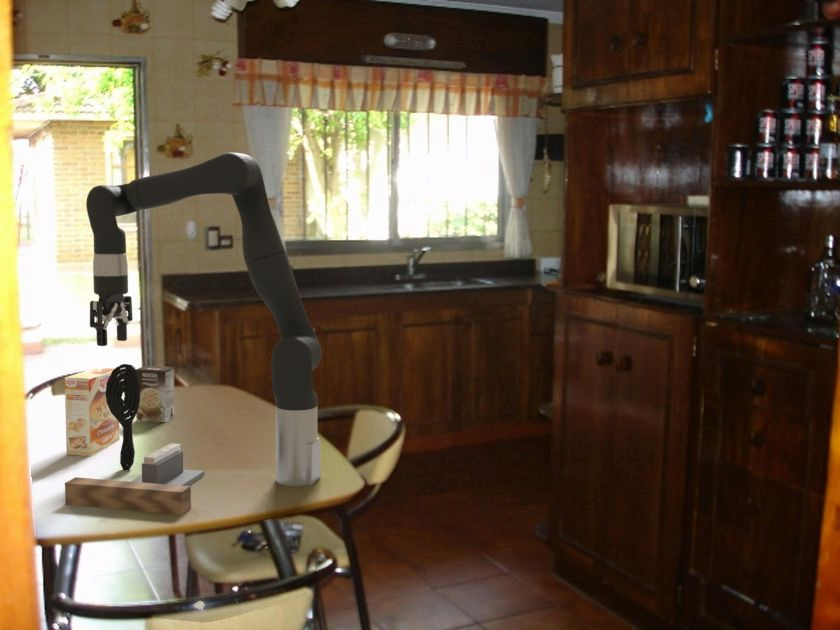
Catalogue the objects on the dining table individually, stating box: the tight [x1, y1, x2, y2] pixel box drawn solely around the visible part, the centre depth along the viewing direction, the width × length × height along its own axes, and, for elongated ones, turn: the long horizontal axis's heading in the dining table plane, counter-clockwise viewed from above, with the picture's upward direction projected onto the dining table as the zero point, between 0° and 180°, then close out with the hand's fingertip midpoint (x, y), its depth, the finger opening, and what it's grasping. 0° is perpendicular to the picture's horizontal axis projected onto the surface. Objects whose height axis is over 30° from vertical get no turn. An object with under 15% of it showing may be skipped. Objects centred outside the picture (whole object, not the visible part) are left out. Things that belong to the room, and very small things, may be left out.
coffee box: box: [135, 365, 175, 423], centre depth 264 cm, size 9×6×16 cm
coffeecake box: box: [64, 367, 121, 457], centre depth 237 cm, size 15×7×20 cm, turn 170°
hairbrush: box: [105, 363, 142, 471], centre depth 218 cm, size 8×4×25 cm, turn 81°
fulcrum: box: [129, 442, 205, 486], centre depth 207 cm, size 12×16×8 cm
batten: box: [64, 476, 192, 516], centre depth 193 cm, size 26×4×5 cm, turn 78°
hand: (112, 343), depth 217 cm, fingers open, 8 cm apart
